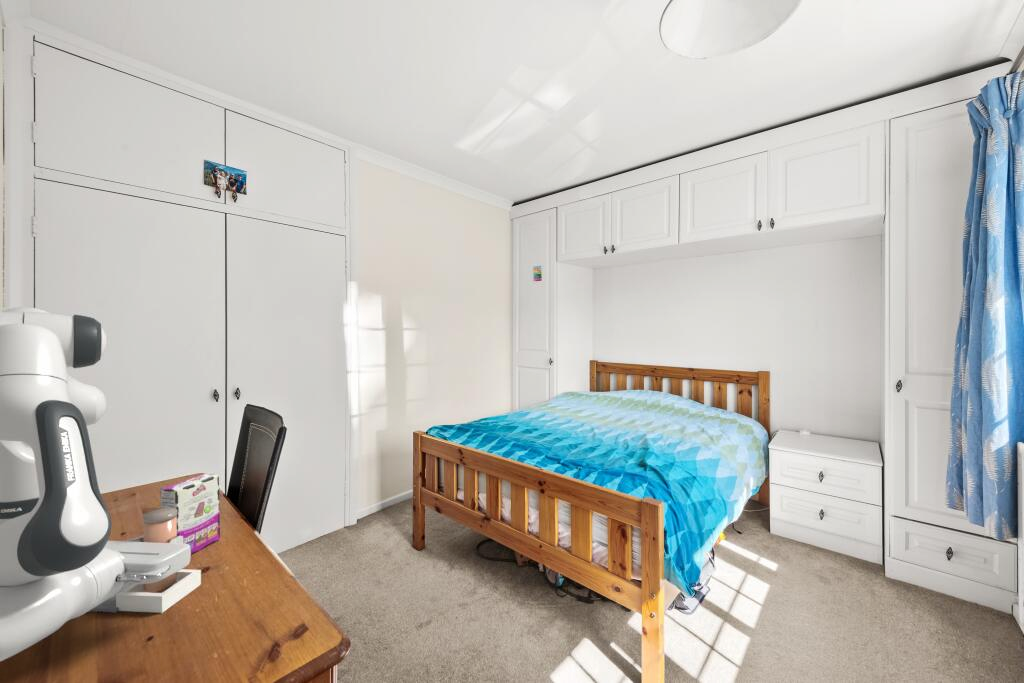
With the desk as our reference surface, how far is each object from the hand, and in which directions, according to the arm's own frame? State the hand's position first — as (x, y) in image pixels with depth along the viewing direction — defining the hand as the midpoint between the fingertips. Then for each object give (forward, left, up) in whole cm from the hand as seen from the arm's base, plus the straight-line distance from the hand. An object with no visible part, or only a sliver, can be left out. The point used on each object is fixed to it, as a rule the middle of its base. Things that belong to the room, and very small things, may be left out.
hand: (164, 538), depth 84 cm
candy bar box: (-9, +17, -11) cm, 22 cm away
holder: (0, -1, -11) cm, 11 cm away
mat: (-10, 0, -11) cm, 15 cm away
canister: (0, -1, -9) cm, 9 cm away
